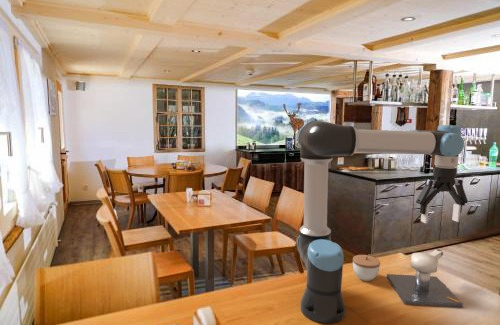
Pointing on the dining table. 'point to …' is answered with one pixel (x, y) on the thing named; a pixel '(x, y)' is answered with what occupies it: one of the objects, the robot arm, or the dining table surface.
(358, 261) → the lidded jar
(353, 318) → the dining table surface
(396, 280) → the base
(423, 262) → the coupling lever handle
